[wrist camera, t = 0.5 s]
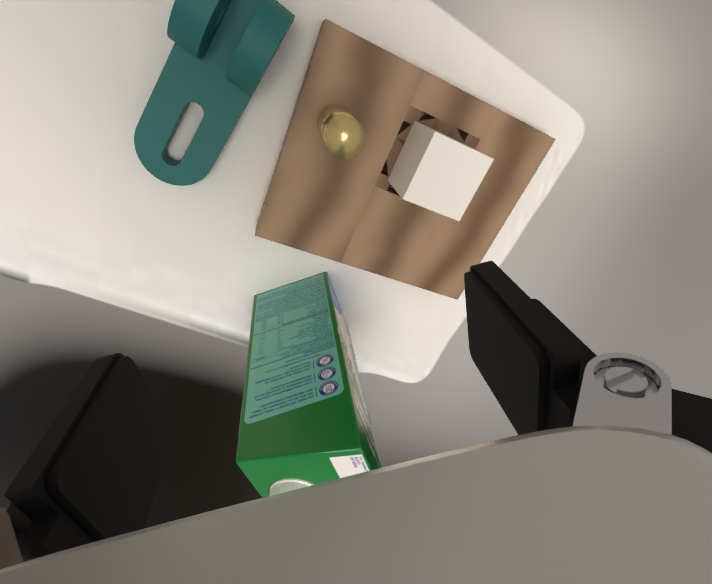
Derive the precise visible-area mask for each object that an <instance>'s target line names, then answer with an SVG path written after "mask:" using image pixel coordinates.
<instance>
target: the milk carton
mask: <svg viewBox="0 0 712 584" xmlns="http://www.w3.org/2000/svg"><path fill="white" fill-rule="evenodd" d="M236 463H237V464H238V465H239V467H240V468H241V469H242V471H243V472H244V473H245V475H246V476H247V477H248V479H249V480H250V481H251V483H252V484H253V486H254V487H255V488H256V489H257V490H258V492H259V494H260V495H261V496H262V498H264V497H268V496H272V495H276V494H280V493H284V492H288V491H292V490H296V489H300V488H304V487H308V486H311V485H315V484H319V483H323V482H327V481H331V480H335V479H339V478H343V477H347V476H351V475H355V474H359V473H363V472H367V471H371V470H375V469H379V468H381V464H380V460H379V456H378V451H377V447H376V443H375V439H374V434H373V431H372V426H371V422H370V418H369V413H368V410H367V405H366V401H365V397H364V393H363V388H362V384H361V380H360V376H359V372H358V367H357V363H356V359H355V355H354V351H353V346H352V342H351V338H350V334H349V330H348V327H347V324H346V321H345V319H344V316H343V314H342V311H341V308H340V306H339V303H338V301H337V298H336V295H335V293H334V290H333V287H332V285H331V282H330V280H329V277H328V274H327V272H325V273H322V274H319V275H316V276H313V277H310V278H307V279H304V280H301V281H298V282H295V283H292V284H289V285H286V286H283V287H280V288H277V289H274V290H271V291H268V292H265V293H262V294H259V295H256V296H254V304H253V313H252V321H251V330H250V339H249V349H248V358H247V366H246V375H245V384H244V393H243V402H242V411H241V420H240V429H239V438H238V447H237V455H236Z"/></svg>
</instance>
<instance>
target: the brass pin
mask: <svg viewBox="0 0 712 584" xmlns="http://www.w3.org/2000/svg"><path fill="white" fill-rule="evenodd" d="M317 124H318V128H319V131H320V133H321V135H322V137H323V139H324V141H325V143H326V145H327V148H328V149H329V151H330V152H331V153H332V154H333V155H334V156H335V157H337V158H340V159H350V158H353V157H355V156H356V155H358V154H359V153H360V152H361V150H362V149H363V147H364V144H365V132H364V129H363V127H362V125H361V124H360V123H359V122H358V121H357V120H356V119H355V118H354V117H353V116H352V115H351V114H350V113H349V112H347V111H346V110H345V109H344V108H343V107H342V106H340V105H336V104H331V105H328V106H326V107H324V108H323V109H322V110H321V111H320V113H319V115H318V120H317Z"/></svg>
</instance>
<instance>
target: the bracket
mask: <svg viewBox="0 0 712 584" xmlns="http://www.w3.org/2000/svg"><path fill="white" fill-rule="evenodd" d="M294 17H295V16H294V15H293V14H292V13H291V12H289V11H288V10H287V9H286V8H285V7H283V6H282V5H281V4H280V3H279V2H278V1H276V0H175V3H174V5H173V8H172V11H171V15H170V19H169V23H168V30H167V34H168V37H169V38H170V39H171V40H173V41H174V42H175V44H174V46H173V48H172V50H171V53H170V55H169V57H168V59H167V61H166V64H165V66H164V68H163V70H162V72H161V74H160V77H159V79H158V81H157V83H156V85H155V88H154V90H153V92H152V94H151V96H150V98H149V101H148V103H147V105H146V107H145V109H144V112H143V114H142V116H141V118H140V120H139V123H138V125H137V127H136V130H135V136H134V143H135V149H136V152H137V155H138V157H139V159H140V161H141V163H142V164H143V165H144V167H145V168H146V169H147V170H148V171H149V172H150V173H151V174H152V175H154V176H155V177H156V178H158V179H160V180H161V181H164V182H166V183H169V184H173V185H181V186H183V185H191V184H194V183H197V182H199V181H200V180H202V179H203V178H204V177H205V176H207V174H208V173H209V172H210V170H211V168H212V167H213V165H214V163H215V161H216V160H217V158H218V156H219V154H220V152H221V151H222V149H223V147H224V145H225V143H226V141H227V140H228V138H229V136H230V134H231V132H232V131H233V129H234V127H235V125H236V123H237V121H238V120H239V118H240V116H241V114H242V112H243V111H244V109H245V107H246V105H247V103H248V101H249V100H250V98H251V96H252V94H253V92H254V91H255V89H256V87H257V85H258V83H259V82H260V80H261V78H262V76H263V74H264V72H265V71H266V69H267V67H268V65H269V63H270V62H271V60H272V58H273V56H274V54H275V52H276V51H277V49H278V47H279V45H280V43H281V42H282V40H283V38H284V36H285V34H286V32H287V31H288V29H289V27H290V25H291V23H292V22H293V20H294ZM190 102H196V103H198V104H199V105H201V107H202V108H203V110H204V117H203V120H202V121H201V123H200V125H199V127H198V129H197V131H196V133H195V135H194V137H193V139H192V141H191V143H190V145H189V147H188V149H187V151H186V152H185V154H184V156H183V158H182V160H180V161H176V160H173V159H172V158H171V157H170V156H169V155H168V153H167V147H168V145H169V143H170V141H171V139H172V137H173V135H174V133H175V131H176V129H177V127H178V125H179V123H180V121H181V119H182V117H183V115H184V113H185V111H186V109H187V107H188V105H189V103H190Z"/></svg>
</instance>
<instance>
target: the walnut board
mask: <svg viewBox="0 0 712 584" xmlns="http://www.w3.org/2000/svg"><path fill="white" fill-rule="evenodd" d="M331 104H336V105H340V106H342V107H343V108H344V109H345V110H346V111H347V112H349V113H350V114H351V115H352V116H353V117H354V118H355V119H356V120H357V121H358V122H359V123H360V124H361V125H362V127H363V129H364V132H365V144H364V147H363V149H362V150H361V152H360V153H359V154H358V155H356V156H355V157H353V158H350V159H340V158H337V157H335V156H334V155H333V154H332V153H331V152H330V151H329V149H328V148H327V145H326V143H325V141H324V139H323V137H322V135H321V133H320V131H319V128H318V124H317V120H318V115H319V113H320V111H321V110H322V109H323V108H324V107H326V106H328V105H331ZM423 112H424V113H426V114H428V115H424V116H421V115H422V113H423ZM403 121H404V122H403ZM414 121H417V122H419V123H421V124H423V125H425V126H427V127H429V128H431V129H434V130H436V131H438V132H440V133H442V134H444V135H446V136H448V137H451V138H453V139H455V140H457V141H459V142H461V143H463V144H465V145H468V146H469V147H471V148H473V149H475V150H477V151H479V152H481V153H483V154H485V155H487V156H489V157H491V158H493V159H494V160H493V162H492V164H491V166H490V167H489V169H488V171H487V173H486V174H485V176H484V178H483V180H482V182H481V183H480V185H479V187H478V189H477V191H476V192H475V194H474V196H473V198H472V200H471V201H470V203H469V205H468V207H467V209H466V210H465V212H464V214H463V216H462V217H461V219H460V221H457V220H455V219H452V218H449V217H447V216H444V215H442V214H439V213H437V212H434V211H432V210H429V209H427V208H424V207H421V206H419V205H416V204H414V203H411V202H409V201H406V200H404V199H402V198H401V196H400V195H399V194H398V193H397V191H396V190H395V189H393V188H390V187H389V185H390V183H389V182H388V178H389V176H390V174H391V172H392V170H393V167H394V165H395V163H396V161H397V158H398V156H399V154H400V152H401V150H402V147H403V145H404V143H405V141H406V139H407V136H408V134H409V132H410V130H411V128H412V125H413V123H414ZM456 128H457V129H459V131H458V130H457V129H456ZM554 141H555V139H554V138H552V137H550V136H549V135H547V134H545V133H543V132H541V131H539V130H537V129H535V128H533V127H531V126H529V125H527V124H526V123H524V122H522V121H520V120H518V119H516V118H514V117H512V116H510V115H508V114H506V113H504V112H503V111H501V110H499V109H497V108H495V107H493V106H491V105H489V104H487V103H485V102H483V101H482V100H480V99H478V98H476V97H474V96H472V95H470V94H468V93H466V92H464V91H462V90H460V89H459V88H457V87H455V86H453V85H451V84H449V83H447V82H445V81H443V80H441V79H439V78H438V77H436V76H434V75H432V74H430V73H428V72H426V71H424V70H422V69H420V68H418V67H416V66H415V65H413V64H411V63H409V62H407V61H405V60H403V59H401V58H399V57H397V56H395V55H393V54H392V53H390V52H388V51H386V50H384V49H382V48H380V47H378V46H376V45H374V44H372V43H371V42H369V41H367V40H365V39H363V38H361V37H359V36H357V35H355V34H353V33H351V32H349V31H348V30H346V29H344V28H342V27H340V26H338V25H336V24H334V23H332V22H330V21H328V20H326V19H325V20H324V21H323V23H322V26H321V29H320V32H319V35H318V38H317V41H316V44H315V48H314V51H313V54H312V57H311V60H310V63H309V66H308V69H307V72H306V75H305V78H304V81H303V84H302V87H301V91H300V94H299V97H298V100H297V103H296V106H295V109H294V112H293V115H292V118H291V121H290V124H289V127H288V131H287V134H286V137H285V140H284V143H283V146H282V149H281V152H280V155H279V158H278V161H277V164H276V167H275V170H274V174H273V177H272V180H271V183H270V186H269V189H268V192H267V195H266V198H265V201H264V204H263V207H262V210H261V214H260V217H259V220H258V223H257V226H256V232H255V236H258V237H262V238H265V239H268V240H271V241H274V242H277V243H281V244H284V245H287V246H290V247H293V248H296V249H299V250H303V251H306V252H309V253H312V254H315V255H318V256H322V257H325V258H328V259H331V260H334V261H337V262H341V263H344V264H347V265H350V266H353V267H356V268H359V269H363V270H366V271H369V272H372V273H375V274H378V275H382V276H385V277H388V278H391V279H394V280H397V281H401V282H404V283H407V284H410V285H413V286H416V287H420V288H423V289H426V290H429V291H432V292H435V293H438V294H442V295H445V296H448V297H451V298H454V299H457V300H458V298H459V296H460V295H461V293H462V292H463V290H464V288H465V283H464V274H465V273H466V272H470V267H471V266H472V265H476V264H480V262H481V260H482V259H483V257H484V256H485V254H486V252H487V251H488V249H489V247H490V246H491V244H492V242H493V241H494V239H495V238H496V236H497V234H498V233H499V231H500V229H501V228H502V226H503V224H504V223H505V221H506V220H507V218H508V216H509V215H510V213H511V211H512V210H513V208H514V207H515V205H516V203H517V202H518V200H519V198H520V197H521V195H522V193H523V192H524V190H525V189H526V187H527V185H528V184H529V182H530V180H531V179H532V177H533V175H534V174H535V172H536V171H537V169H538V167H539V166H540V164H541V162H542V161H543V159H544V157H545V156H546V154H547V153H548V151H549V149H550V148H551V146H552V144H553V143H554ZM382 168H383V170H382Z"/></svg>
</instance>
